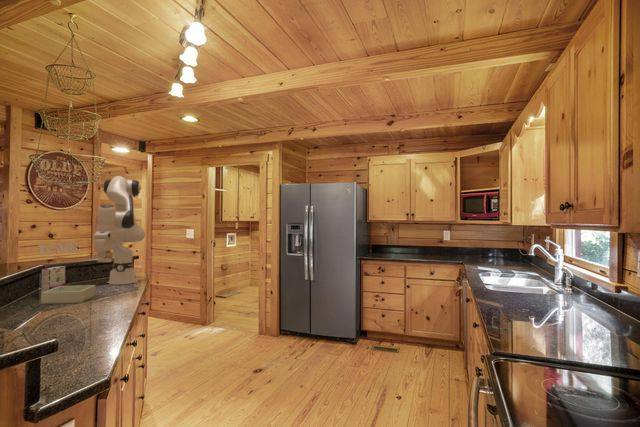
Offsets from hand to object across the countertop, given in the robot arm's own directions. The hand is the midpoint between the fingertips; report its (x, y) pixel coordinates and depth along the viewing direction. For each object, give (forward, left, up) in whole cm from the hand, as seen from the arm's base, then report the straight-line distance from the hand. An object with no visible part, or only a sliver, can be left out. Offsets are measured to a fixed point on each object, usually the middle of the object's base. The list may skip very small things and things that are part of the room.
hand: (105, 258), depth 184 cm
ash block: (0, 0, -2) cm, 2 cm away
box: (+1, -16, -22) cm, 27 cm away
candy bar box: (-9, -28, -22) cm, 37 cm away
